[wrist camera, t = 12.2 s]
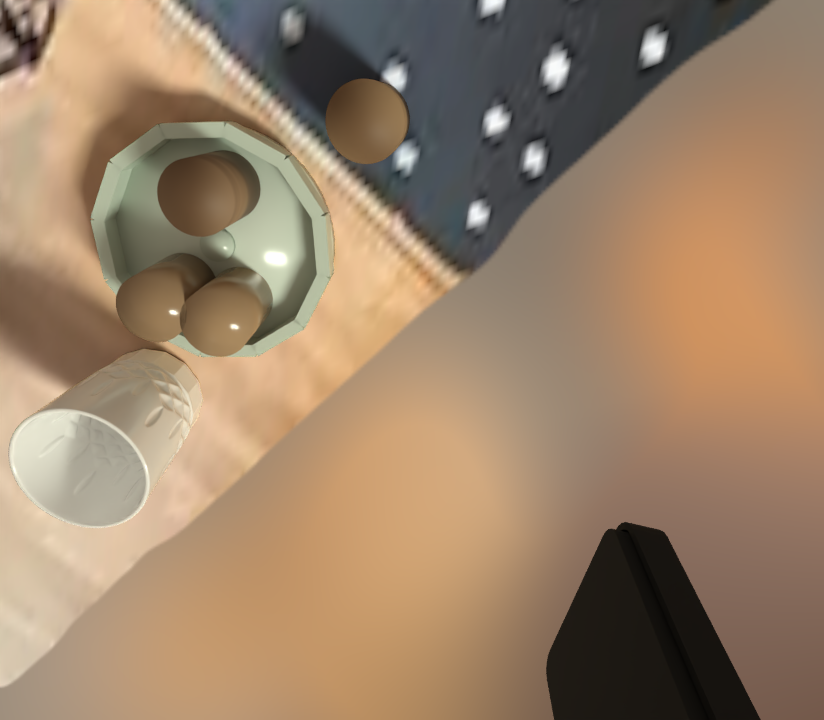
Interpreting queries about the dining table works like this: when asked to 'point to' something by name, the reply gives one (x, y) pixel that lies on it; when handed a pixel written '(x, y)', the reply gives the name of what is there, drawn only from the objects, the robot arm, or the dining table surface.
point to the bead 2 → (367, 120)
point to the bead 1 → (208, 192)
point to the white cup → (107, 439)
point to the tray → (213, 247)
